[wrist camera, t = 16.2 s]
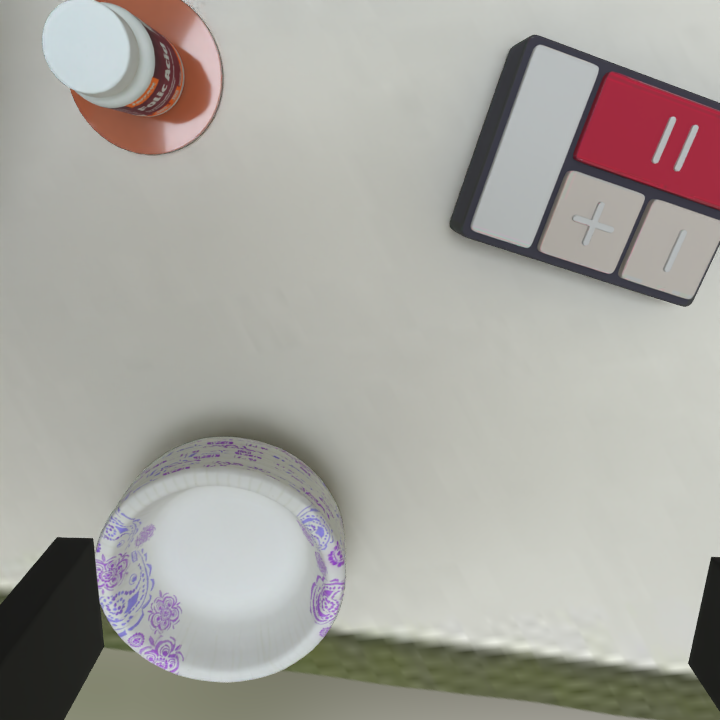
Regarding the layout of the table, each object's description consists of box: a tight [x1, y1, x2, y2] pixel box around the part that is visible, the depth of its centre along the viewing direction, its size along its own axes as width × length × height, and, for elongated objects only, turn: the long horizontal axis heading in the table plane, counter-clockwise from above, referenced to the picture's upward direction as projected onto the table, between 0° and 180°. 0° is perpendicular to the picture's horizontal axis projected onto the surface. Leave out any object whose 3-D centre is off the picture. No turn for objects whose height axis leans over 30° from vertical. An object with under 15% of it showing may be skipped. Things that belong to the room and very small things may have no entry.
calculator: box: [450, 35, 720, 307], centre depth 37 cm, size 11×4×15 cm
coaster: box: [70, 0, 223, 155], centre depth 37 cm, size 9×9×1 cm
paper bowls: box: [95, 437, 346, 682], centre depth 42 cm, size 15×15×8 cm
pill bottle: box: [42, 0, 184, 117], centre depth 33 cm, size 5×5×8 cm
